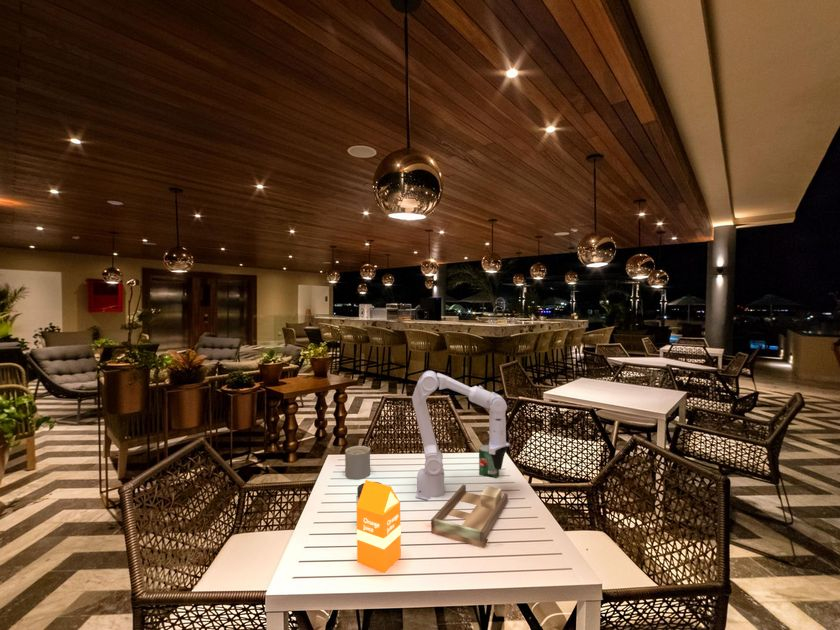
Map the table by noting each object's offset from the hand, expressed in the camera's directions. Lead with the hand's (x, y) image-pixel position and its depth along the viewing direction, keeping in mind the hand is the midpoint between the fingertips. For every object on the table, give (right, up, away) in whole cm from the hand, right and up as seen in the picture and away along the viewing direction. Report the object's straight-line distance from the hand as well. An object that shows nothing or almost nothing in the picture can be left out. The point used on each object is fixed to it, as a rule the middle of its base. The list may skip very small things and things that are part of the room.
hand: (498, 468), depth 132 cm
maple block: (-4, -9, -8) cm, 12 cm away
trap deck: (-11, -10, -14) cm, 21 cm away
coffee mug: (-52, -11, +22) cm, 58 cm away
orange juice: (-38, -11, -34) cm, 52 cm away
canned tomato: (0, -11, +18) cm, 21 cm away
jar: (-43, -11, -18) cm, 47 cm away
